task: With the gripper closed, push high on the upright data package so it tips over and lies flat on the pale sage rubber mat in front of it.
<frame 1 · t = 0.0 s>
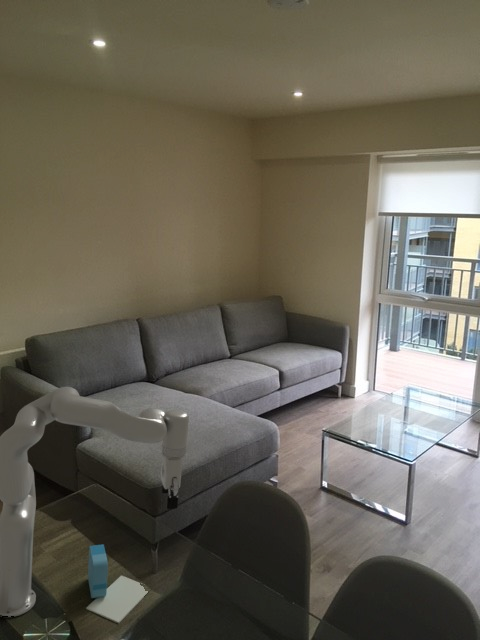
hand: (169, 500, 171), 31 cm above the table, tool pointing down, fingers open, 9 cm apart
data package: (96, 588, 173), on the table, touching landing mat
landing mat: (120, 598, 170), on the table
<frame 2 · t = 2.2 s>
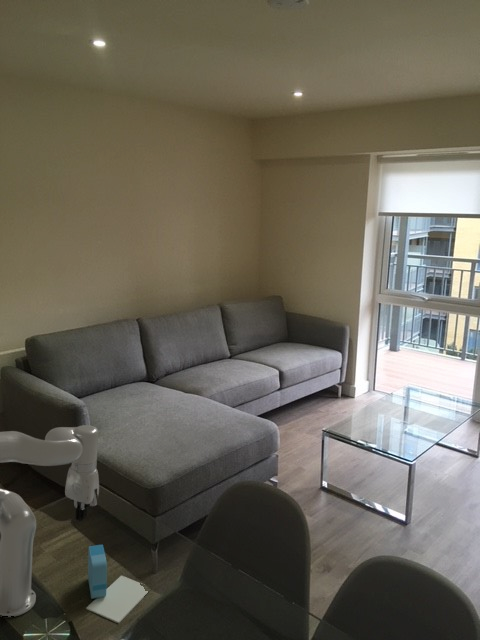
hand: (80, 518, 172), 22 cm above the table, tool pointing down, fingers closed
nothing on the table moved.
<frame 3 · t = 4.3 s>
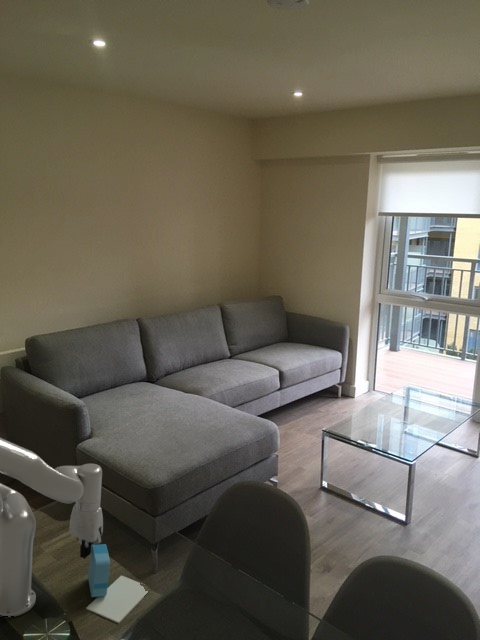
hand: (85, 555, 174), 10 cm above the table, tool pointing down, fingers closed
data package: (96, 588, 173), on the table, touching gripper, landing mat
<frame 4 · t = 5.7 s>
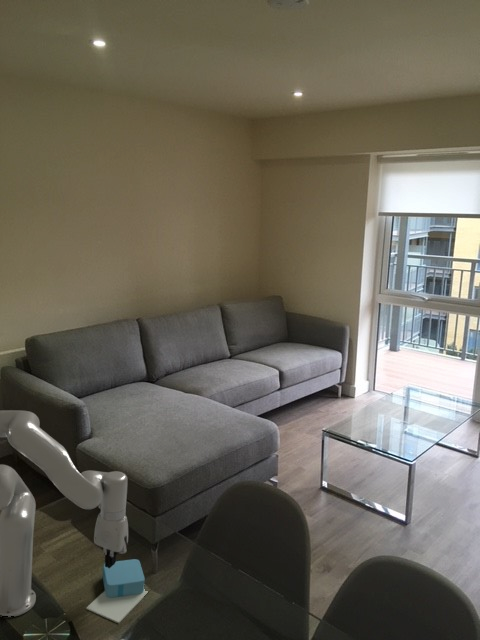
hand: (110, 565, 170), 10 cm above the table, tool pointing down, fingers closed
data package: (103, 580, 173), point 3 cm above the table, touching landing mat
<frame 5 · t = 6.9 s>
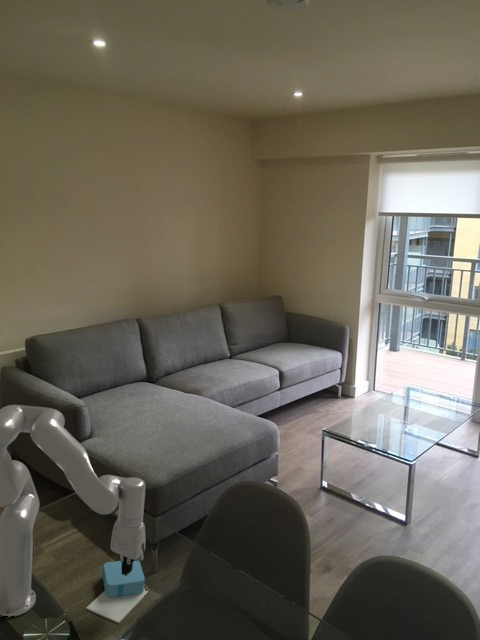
hand: (126, 572, 167), 10 cm above the table, tool pointing down, fingers closed
nothing on the table moved.
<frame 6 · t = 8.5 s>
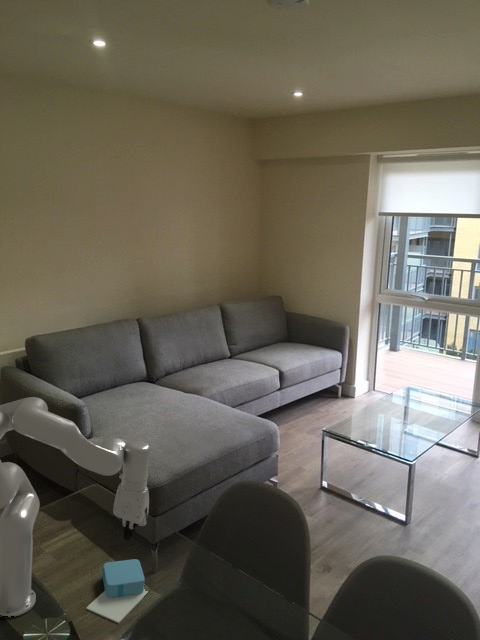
hand: (128, 537, 165), 22 cm above the table, tool pointing down, fingers closed
nothing on the table moved.
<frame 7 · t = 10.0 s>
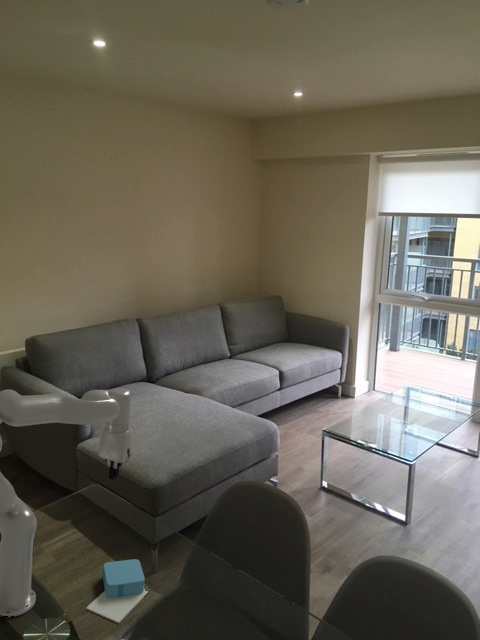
hand: (113, 477, 180), 32 cm above the table, tool pointing down, fingers closed
nothing on the table moved.
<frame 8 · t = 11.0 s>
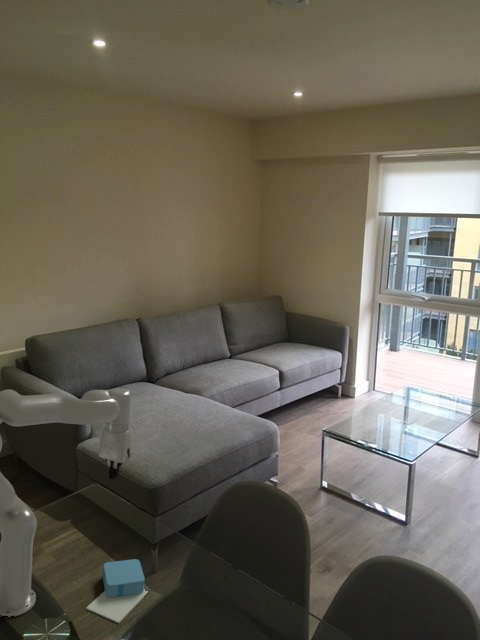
hand: (113, 477, 180), 32 cm above the table, tool pointing down, fingers closed
nothing on the table moved.
at the end: data package tilted 90°; data package touching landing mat; data package inside the target area (2.9 cm from its centre), point 2.8 cm above the table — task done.
